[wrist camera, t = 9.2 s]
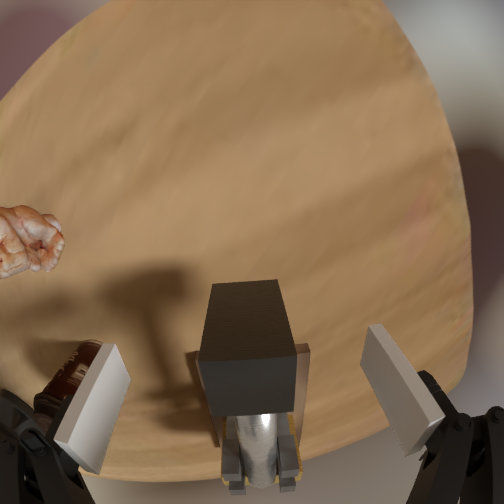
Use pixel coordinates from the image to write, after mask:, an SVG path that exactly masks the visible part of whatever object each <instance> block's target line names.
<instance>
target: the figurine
mask: <svg viewBox="0 0 504 504" xmlns="http://www.w3.org/2000/svg"><path fill="white" fill-rule="evenodd" d="M60 232H61V227H60V224H59V222H58V220H57V219H56V218H55V217H54V216H53V215H51V214H44V215H40V213H38V212H37V211H36V210H34V209H32V208H30V207H28V206H24V205H20V206H16V207H13V208H3V207H0V278H8V277H10V276H12V275H15V274H18V273H20V272H23V271H25V270H27V269H31V270H32V271H34V272H38V271H39V270H40V269H41V267H42V268H43V269H44V270H45V271H46V272H47V273H48V272H49V271H52V270H53V269H54V268H55V266H56V265H57V264H58V261H59V259H60V256H61V253H62V251H63V248H64V246H65V240H64V238H63V235H62V234H61V233H60Z"/></svg>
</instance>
